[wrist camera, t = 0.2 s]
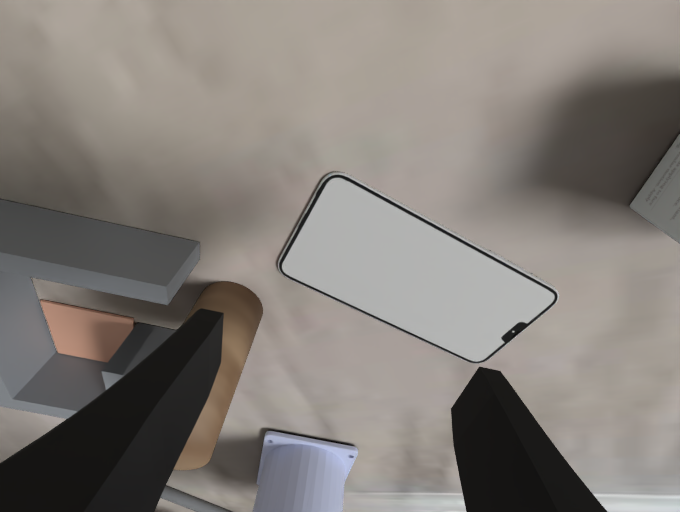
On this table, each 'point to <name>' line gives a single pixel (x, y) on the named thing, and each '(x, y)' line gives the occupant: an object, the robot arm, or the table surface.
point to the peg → (222, 365)
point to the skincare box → (662, 194)
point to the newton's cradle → (189, 501)
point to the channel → (75, 322)
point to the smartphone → (411, 271)
